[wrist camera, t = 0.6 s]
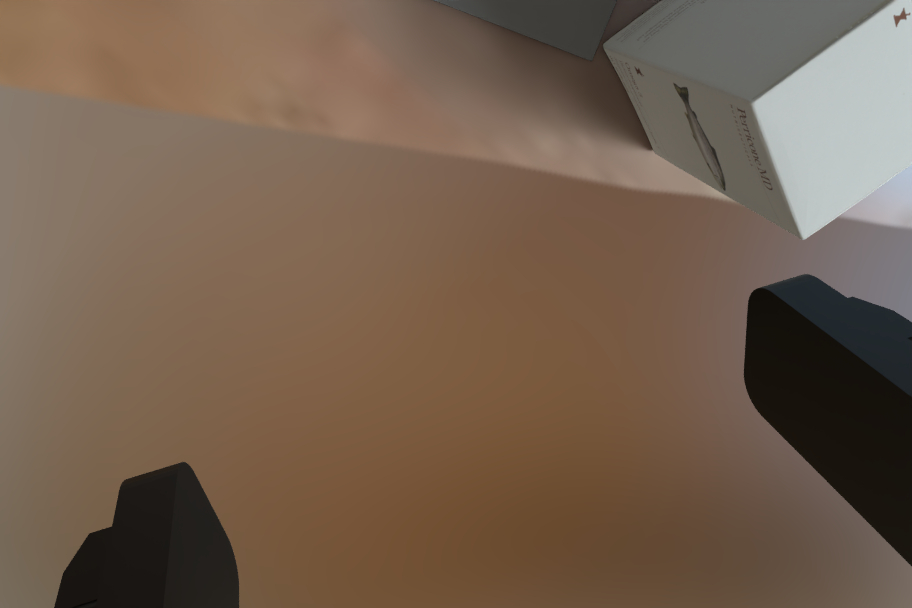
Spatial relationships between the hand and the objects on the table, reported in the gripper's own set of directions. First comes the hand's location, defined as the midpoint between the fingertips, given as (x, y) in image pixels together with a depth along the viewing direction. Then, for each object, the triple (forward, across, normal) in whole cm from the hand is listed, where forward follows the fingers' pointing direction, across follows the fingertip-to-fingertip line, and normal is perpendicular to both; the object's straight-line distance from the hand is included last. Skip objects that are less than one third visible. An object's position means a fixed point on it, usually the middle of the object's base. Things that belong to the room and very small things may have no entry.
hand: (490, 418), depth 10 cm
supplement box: (+28, -19, +5) cm, 34 cm away
